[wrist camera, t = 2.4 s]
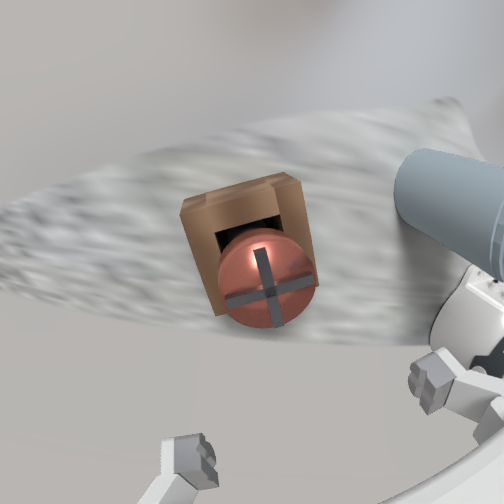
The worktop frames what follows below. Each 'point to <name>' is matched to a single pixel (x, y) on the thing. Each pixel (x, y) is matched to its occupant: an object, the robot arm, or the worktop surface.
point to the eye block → (242, 221)
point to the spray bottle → (455, 205)
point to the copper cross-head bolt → (264, 276)
